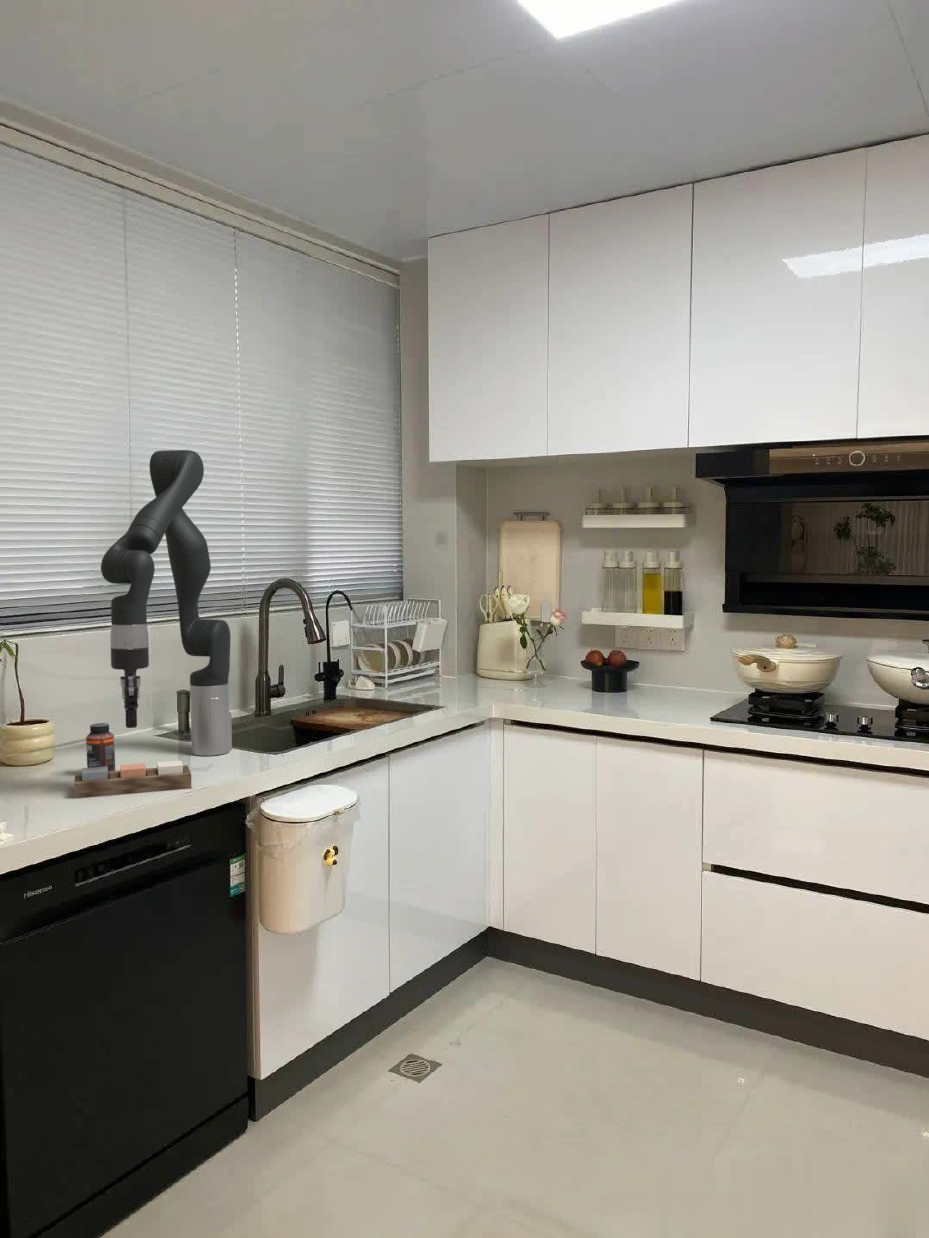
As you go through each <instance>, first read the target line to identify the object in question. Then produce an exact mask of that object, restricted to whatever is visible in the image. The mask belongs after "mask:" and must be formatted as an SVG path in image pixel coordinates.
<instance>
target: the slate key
mask: <svg viewBox="0 0 929 1238" xmlns="http://www.w3.org/2000/svg"><path fill="white" fill-rule="evenodd" d="M81 774H82V781H93V780H105V779H108V766H104V767H91V768H87V767H82V768H81Z"/></svg>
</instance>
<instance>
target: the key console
mask: <svg viewBox="0 0 929 1238" xmlns="http://www.w3.org/2000/svg"><path fill="white" fill-rule="evenodd" d="M190 787H191V788H192V772H191V769H190V768H189V765H187V764H186V765H185V764H184V765H183V773H178V774H166V775H158V773H157V767H149V768H148V767H147V768H146V776H141V777H129V778H121V776H120V770H115V771H108V779H105V780H93V781H82V773H75V774H74V780H73V793H74V794H73V795H74V797H73V798H74V799H82V798H84V797H85V798H93V797H94V798H95V797H104V796H117V795H130V794H138V793H139V794H140V793H149V792H150V793H151V792H152V791H153V792H162V791H163V792H164V791H175V790H185V788H187V789H191V788H190ZM153 792H152V793H153ZM85 798H84V799H85Z"/></svg>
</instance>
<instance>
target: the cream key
mask: <svg viewBox="0 0 929 1238" xmlns="http://www.w3.org/2000/svg"><path fill="white" fill-rule="evenodd" d="M183 766H184V765H183V762H182V760H170V761H158V762H156V768H157V773H158V775H166V774H178V773H183Z"/></svg>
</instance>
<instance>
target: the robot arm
mask: <svg viewBox="0 0 929 1238" xmlns="http://www.w3.org/2000/svg"><path fill="white" fill-rule="evenodd" d="M204 467H205V465H204V462H203V459H202V457H201V455H199V453H197V451H194V450H191V449H190V450H189V449H172V450H171V449H169V450H156V451H154V452H153V453H152V454H151V456H150V458H149V476H150V481H151V484H152V487H153V491H154V496H155V497H154V499H152V500H150V501H149V502H147V503H146V504H145V505H144V506H142V508H140V510H139V511H138V512H137V513H136V515H135V517H134V518H133V520H132V522H131V523H130V526H129V527H128V529H127V531H126V533H125V534H123V535H122V536H120V537H119V539H117V541H115V543H114V544H112V545H111V547H109V549H108V550H107V551H106V552H105V553H104V555H103V557H102V560H101V563H100V572H101V575H102V578H103V579H104V580H105V581H107V582H108V583H110V584H115V585H116V584H117V585H130V586H129V587H130V588H129V589H128V592H127V593H125V594H122V595H117V596H115V597H112V600H111V603H110V608H111V609H110V612H111V613H110V617H111V622H110V623H111V625H110V627H111V628H110V637H109V638H110V666H111V668H112V669H113V670H123V671H124V673H123V674H124V676H120V679H119V680H120V687H121V697H122V700H123V708H124V711H125V727H126V728H127V729H134V728H137V726H138V709H139V704H138V700H139V699H140V695H141V694H140V693H141V692H140V687H141V675H137V671H138V670H142V669H146V668H148V667H149V666H150V662H149V661H150V659H149V658H150V657H149V654H150V653H149V648H150V647H149V630H148V623H147V622H148V621H147V619H148V618H147V614H148V613H147V605H148V599H149V595H150V590H151V586H152V583H153V580H154V576H155V562H154V559H153V557H152V554H153V553H155V552H156V551H157V549H158V548H159V545H160V544H161V541H162V539H163V537H164V536H165V540H166V548H167V553H168V559H169V563H170V564H169V565H170V568H171V569H170V570H171V573H172V574H171V575H172V577H173V583H174V588H175V593H176V599H177V609H178V618H179V620H178V621H179V630H180V638H181V644H182V648H183V651H185V653H186V654H187V655H189V656H191V657H205V658H206V657H209V661H208V664H207V665H206V666H204V667H203V668H201V669H197V670H195V671H193V672H191V673H190V675H189V692H190V693H189V695H190V736H191V738H190V740H191V742H190V744H191V754H192V755H195V756H200V757H201V756H207V757H208V756H220V755H224V754H228V753H229V752H230V751H231V750H232V749H233V731H232V730H233V729H232V728H233V727H232V723H233V722H232V712H230V697H229V693H230V691H229V675H230V669H231V666H230V665H231V664H230V663H231V662H230V661H231V659H230V657H231V630H230V627H229V625H228V622H227V621H225V620H223V619H215V618H214V619H209V618H207V619H206V618H205V619H204V618H203V619H202V618H200V615H199V598H200V596H201V593H202V591H203V589H204V586H205V585H206V583H207V581H208V578H209V576H210V574H211V573H210V572H211V568H212V567H211V565H212V564H211V559H210V553H209V552H210V551H209V547H208V542H207V540H206V538H205V536H204V534H203V533H202V532H201V530H200V529H199V528H198V527H197V526H196V524H195V523H194V522H193V521H192V520H191V518H190V517H189V515H187V513H186V512H185V510H184V508H183V507H184V506H185V505H186V504H187V503H188V501H189V500H190V499H191V497H192V496H193V495H194V494H195V492H196V491H197V490H198V488H199V487H200V485H201V484H202V481H203V479H204V473H205V469H204Z"/></svg>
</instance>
